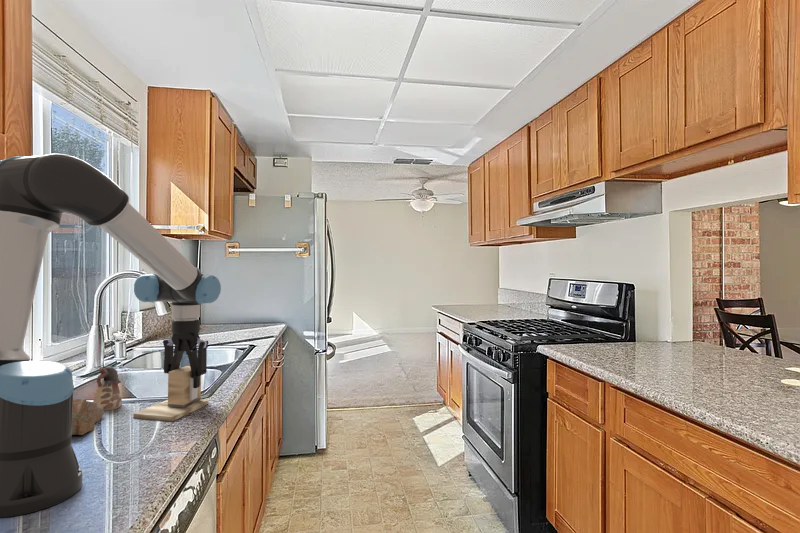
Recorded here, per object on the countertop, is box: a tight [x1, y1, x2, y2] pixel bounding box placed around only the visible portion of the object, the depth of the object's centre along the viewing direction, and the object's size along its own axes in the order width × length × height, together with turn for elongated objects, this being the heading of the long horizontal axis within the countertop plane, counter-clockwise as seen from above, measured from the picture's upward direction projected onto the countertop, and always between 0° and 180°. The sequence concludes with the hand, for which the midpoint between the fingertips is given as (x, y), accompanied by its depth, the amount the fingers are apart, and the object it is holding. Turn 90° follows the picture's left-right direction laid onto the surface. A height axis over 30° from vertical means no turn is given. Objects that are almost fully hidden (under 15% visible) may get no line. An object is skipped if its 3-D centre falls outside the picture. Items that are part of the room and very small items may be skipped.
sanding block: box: [167, 365, 202, 408], centre depth 134 cm, size 8×5×10 cm, turn 169°
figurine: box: [92, 365, 123, 412], centre depth 134 cm, size 7×7×12 cm
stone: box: [72, 398, 105, 436], centre depth 117 cm, size 17×9×10 cm, turn 16°
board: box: [133, 399, 209, 422], centre depth 131 cm, size 16×12×1 cm
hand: (184, 397), depth 134 cm, fingers closed on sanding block, 5 cm apart
